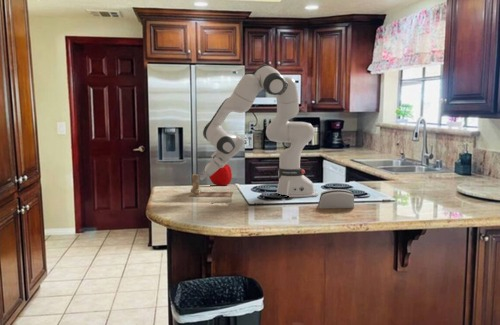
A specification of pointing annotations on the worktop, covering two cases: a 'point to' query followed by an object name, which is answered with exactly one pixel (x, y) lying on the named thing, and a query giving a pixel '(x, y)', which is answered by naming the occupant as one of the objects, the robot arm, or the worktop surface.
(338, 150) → the worktop surface
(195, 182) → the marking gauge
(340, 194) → the grey arched slab
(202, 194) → the walnut board
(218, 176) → the tomato
